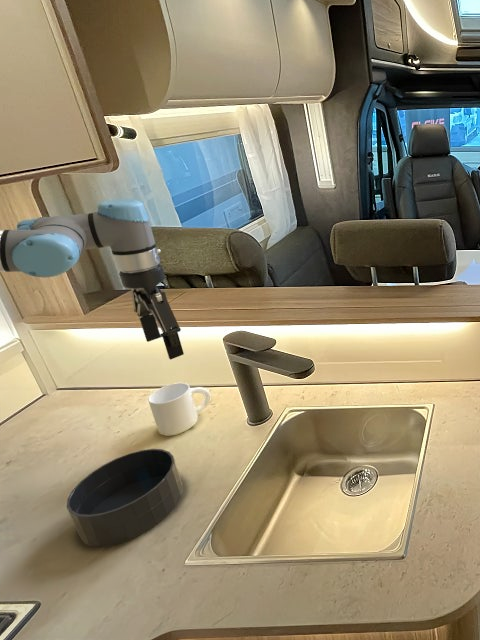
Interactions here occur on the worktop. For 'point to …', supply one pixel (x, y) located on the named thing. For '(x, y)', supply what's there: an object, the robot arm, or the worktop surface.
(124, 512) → the pot
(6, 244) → the robot arm
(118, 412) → the worktop surface
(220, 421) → the worktop surface
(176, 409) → the mug
